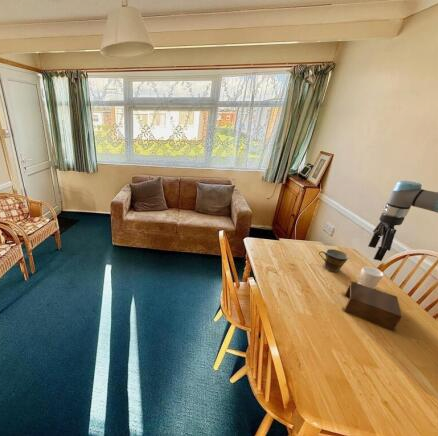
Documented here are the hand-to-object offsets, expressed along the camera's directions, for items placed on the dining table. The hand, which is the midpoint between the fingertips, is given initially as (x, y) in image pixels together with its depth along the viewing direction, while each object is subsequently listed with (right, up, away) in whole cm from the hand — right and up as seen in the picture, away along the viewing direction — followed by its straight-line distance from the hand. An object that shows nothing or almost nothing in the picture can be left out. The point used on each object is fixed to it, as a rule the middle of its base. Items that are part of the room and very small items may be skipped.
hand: (374, 253), depth 114 cm
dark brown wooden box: (-13, -25, -10) cm, 30 cm away
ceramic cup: (-8, -12, +19) cm, 24 cm away
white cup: (-1, -18, +4) cm, 19 cm away
